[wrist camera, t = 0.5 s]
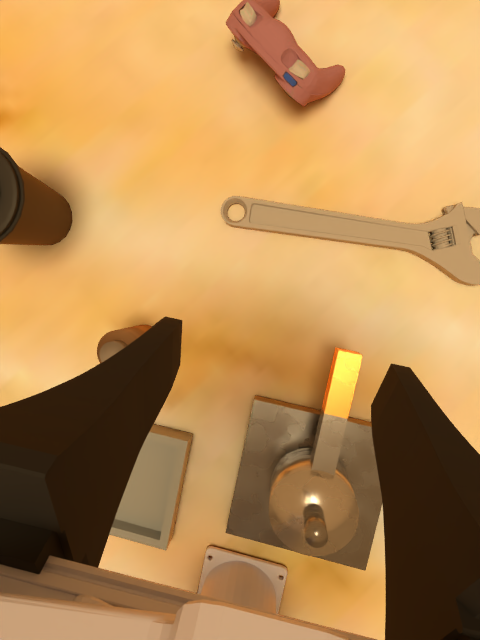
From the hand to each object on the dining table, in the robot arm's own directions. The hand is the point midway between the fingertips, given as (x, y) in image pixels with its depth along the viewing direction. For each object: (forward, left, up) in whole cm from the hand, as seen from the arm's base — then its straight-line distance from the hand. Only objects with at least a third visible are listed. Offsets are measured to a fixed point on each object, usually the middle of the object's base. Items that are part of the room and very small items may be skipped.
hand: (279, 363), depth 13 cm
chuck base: (-14, -5, -23) cm, 27 cm away
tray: (-18, +12, -23) cm, 31 cm away
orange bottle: (-5, +13, -23) cm, 26 cm away
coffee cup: (+5, +25, -23) cm, 34 cm away
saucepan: (-9, -5, -21) cm, 23 cm away
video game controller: (+22, +4, -23) cm, 32 cm away
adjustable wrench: (+10, -5, -23) cm, 26 cm away
